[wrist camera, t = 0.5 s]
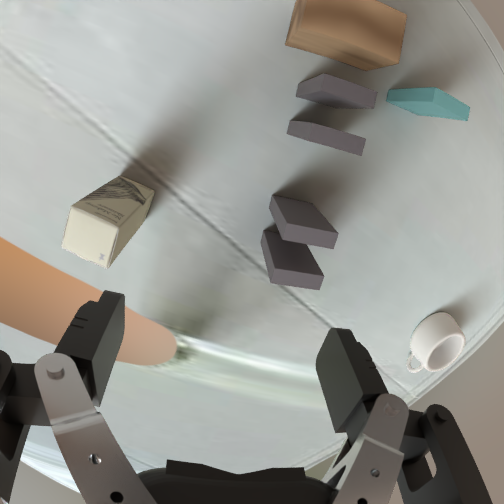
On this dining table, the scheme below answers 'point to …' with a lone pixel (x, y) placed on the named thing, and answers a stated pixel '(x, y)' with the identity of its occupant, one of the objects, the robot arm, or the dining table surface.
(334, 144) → the domino
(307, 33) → the end block
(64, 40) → the dining table surface
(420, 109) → the domino
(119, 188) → the box
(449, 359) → the mug
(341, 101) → the domino
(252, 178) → the dining table surface
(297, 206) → the domino
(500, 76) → the dining table surface
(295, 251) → the domino
